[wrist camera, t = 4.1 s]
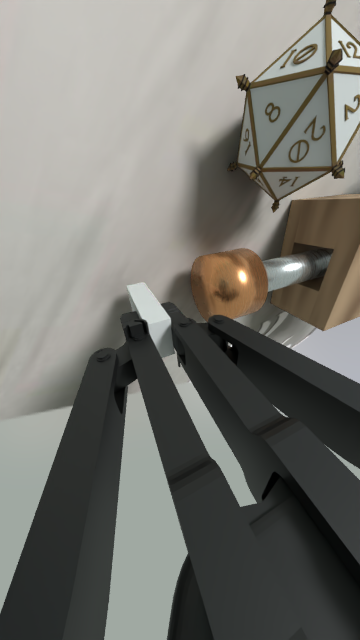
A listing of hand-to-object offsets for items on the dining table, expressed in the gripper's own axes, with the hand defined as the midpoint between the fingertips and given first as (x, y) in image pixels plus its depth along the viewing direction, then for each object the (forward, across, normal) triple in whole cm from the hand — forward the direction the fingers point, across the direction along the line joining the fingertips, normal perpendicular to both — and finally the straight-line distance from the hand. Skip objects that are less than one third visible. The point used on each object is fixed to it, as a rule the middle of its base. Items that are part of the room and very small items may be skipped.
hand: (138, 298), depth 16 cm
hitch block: (+2, +22, 0) cm, 22 cm away
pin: (+1, +14, 0) cm, 14 cm away
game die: (+2, +12, +10) cm, 16 cm away
